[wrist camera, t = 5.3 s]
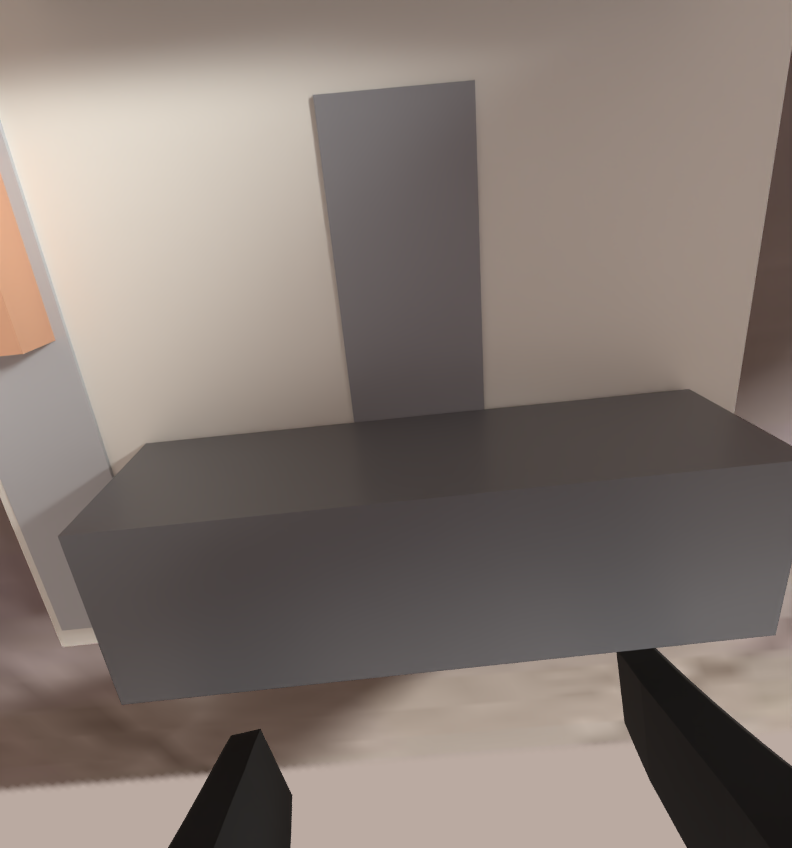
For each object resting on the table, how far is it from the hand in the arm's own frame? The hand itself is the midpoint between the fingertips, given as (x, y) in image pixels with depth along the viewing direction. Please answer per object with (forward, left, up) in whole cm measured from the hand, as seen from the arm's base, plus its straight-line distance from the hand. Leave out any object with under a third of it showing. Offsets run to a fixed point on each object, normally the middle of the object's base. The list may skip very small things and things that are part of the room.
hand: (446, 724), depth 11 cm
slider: (0, -5, -2) cm, 5 cm away
